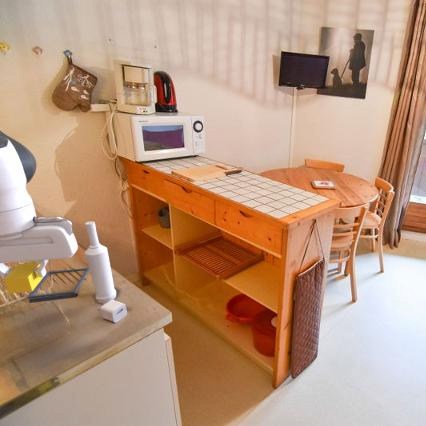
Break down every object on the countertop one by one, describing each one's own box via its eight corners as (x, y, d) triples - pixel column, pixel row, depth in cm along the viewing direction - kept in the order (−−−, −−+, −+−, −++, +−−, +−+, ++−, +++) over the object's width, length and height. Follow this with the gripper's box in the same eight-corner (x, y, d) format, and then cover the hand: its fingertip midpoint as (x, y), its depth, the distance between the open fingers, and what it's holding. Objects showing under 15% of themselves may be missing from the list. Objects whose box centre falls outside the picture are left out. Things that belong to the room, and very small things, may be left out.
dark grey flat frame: (29, 302, 90) (27, 297, 90) (49, 276, 102) (47, 271, 101) (76, 297, 94) (74, 291, 93) (90, 272, 105) (89, 267, 105)
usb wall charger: (114, 323, 86) (112, 311, 84) (95, 316, 88) (92, 304, 86) (127, 314, 89) (125, 302, 88) (108, 307, 91) (106, 296, 90)
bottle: (118, 291, 98) (103, 218, 88) (115, 302, 93) (99, 226, 84) (98, 294, 96) (81, 219, 86) (94, 305, 92) (75, 227, 82)
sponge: (32, 291, 66) (28, 277, 65) (8, 293, 65) (3, 279, 64) (45, 275, 71) (41, 262, 70) (23, 277, 70) (18, 263, 69)
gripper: (75, 210, 68) (87, 264, 74) (-50, 214, 62) (-27, 273, 67) (63, 222, 63) (78, 280, 68) (-75, 228, 56) (-47, 291, 62)
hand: (25, 277), depth 68 cm, fingers closed on sponge, 4 cm apart
